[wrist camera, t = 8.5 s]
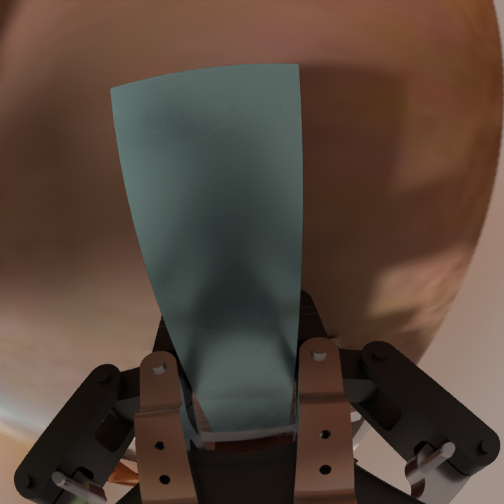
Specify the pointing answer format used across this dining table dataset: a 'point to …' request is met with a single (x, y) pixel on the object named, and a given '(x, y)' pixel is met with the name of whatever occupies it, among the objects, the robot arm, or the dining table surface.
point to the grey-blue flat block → (222, 233)
